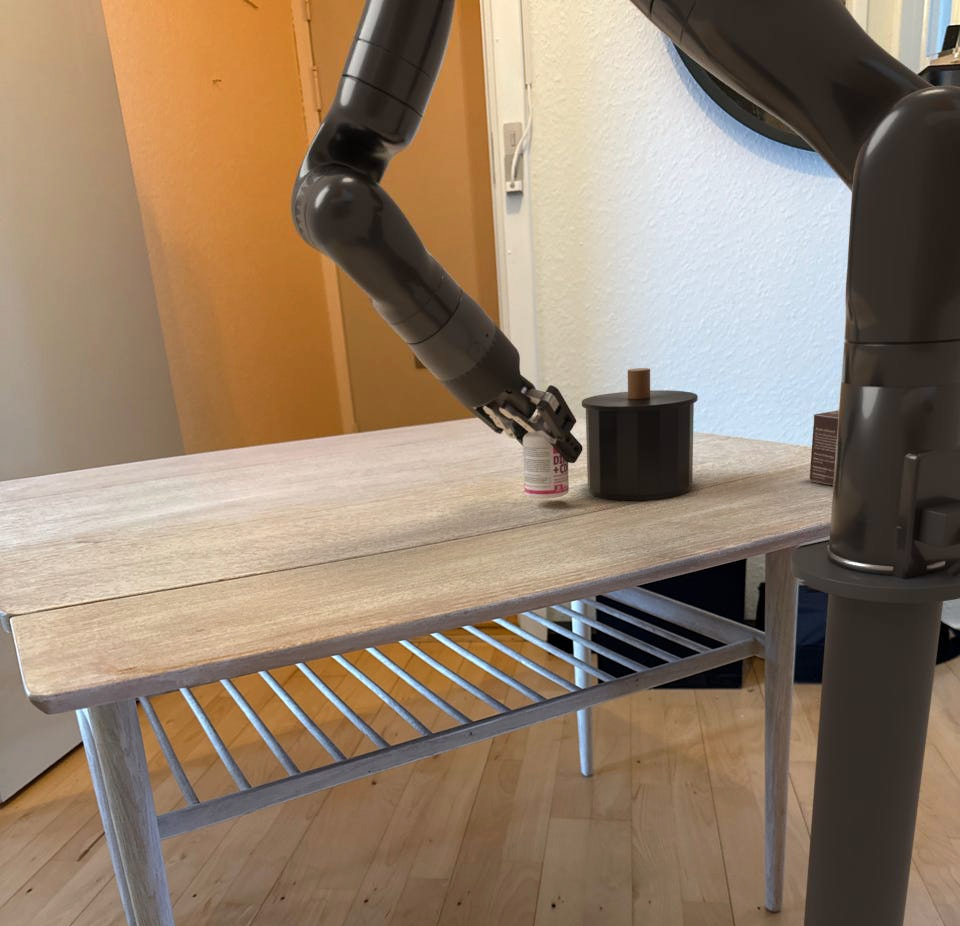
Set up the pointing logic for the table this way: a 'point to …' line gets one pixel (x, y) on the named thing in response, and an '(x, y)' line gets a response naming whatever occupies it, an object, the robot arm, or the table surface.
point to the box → (824, 447)
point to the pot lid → (639, 396)
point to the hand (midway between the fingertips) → (558, 453)
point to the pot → (640, 453)
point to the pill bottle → (543, 467)
